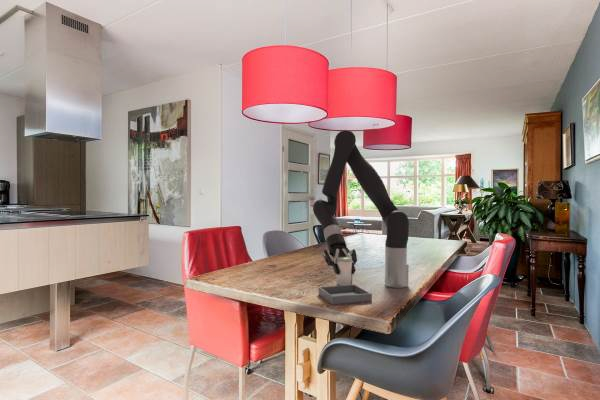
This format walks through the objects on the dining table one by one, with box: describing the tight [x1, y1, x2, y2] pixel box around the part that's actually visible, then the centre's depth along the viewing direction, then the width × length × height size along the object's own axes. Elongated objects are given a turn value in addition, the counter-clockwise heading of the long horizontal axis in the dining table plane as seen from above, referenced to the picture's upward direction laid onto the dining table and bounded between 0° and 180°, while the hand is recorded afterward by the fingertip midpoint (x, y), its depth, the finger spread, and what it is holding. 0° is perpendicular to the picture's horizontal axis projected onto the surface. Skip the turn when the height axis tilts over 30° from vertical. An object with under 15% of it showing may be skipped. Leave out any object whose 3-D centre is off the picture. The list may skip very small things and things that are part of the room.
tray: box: [318, 283, 373, 306], centre depth 133 cm, size 16×14×3 cm
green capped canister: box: [336, 256, 352, 286], centre depth 133 cm, size 6×6×10 cm
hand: (346, 273), depth 132 cm, fingers closed on green capped canister, 5 cm apart
